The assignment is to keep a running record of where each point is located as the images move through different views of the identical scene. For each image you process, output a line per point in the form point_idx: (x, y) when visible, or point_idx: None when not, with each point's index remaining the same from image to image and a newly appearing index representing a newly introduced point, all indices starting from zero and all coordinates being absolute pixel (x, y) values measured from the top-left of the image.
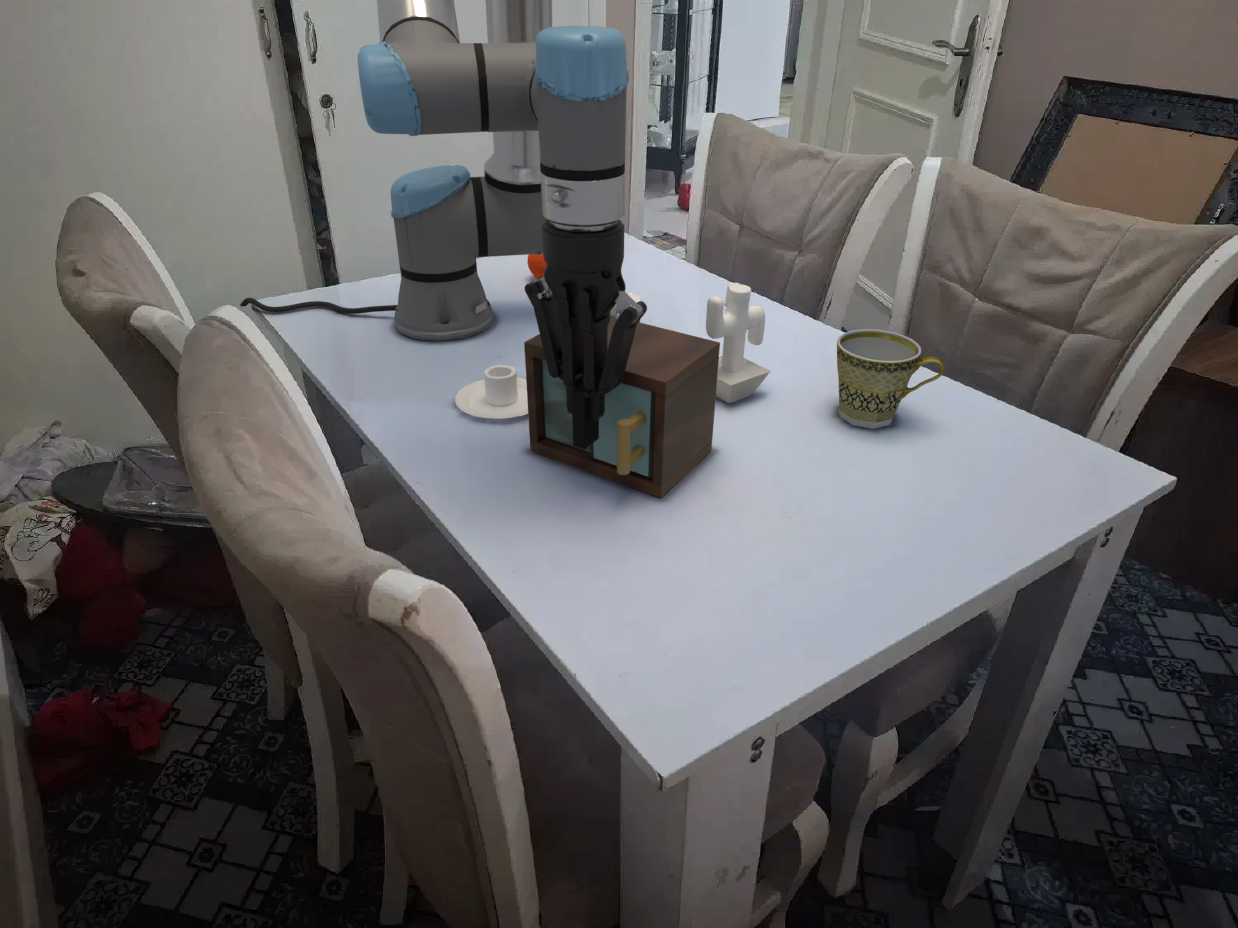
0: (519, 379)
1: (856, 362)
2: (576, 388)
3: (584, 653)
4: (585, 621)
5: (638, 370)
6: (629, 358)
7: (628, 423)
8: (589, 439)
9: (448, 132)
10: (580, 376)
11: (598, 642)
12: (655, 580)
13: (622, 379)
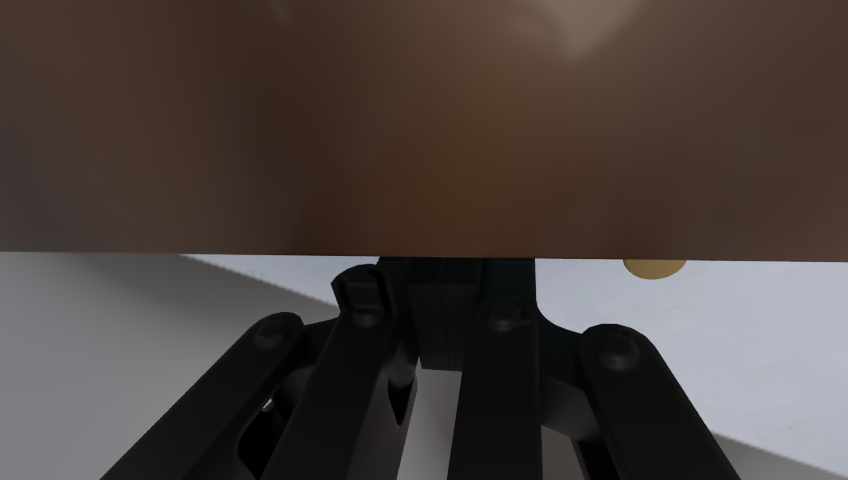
0: None
1: None
2: (422, 351)
3: (721, 417)
4: (695, 382)
5: (723, 204)
6: (512, 40)
7: (681, 261)
8: None
9: None
10: (400, 357)
11: (733, 401)
12: (786, 283)
13: (666, 368)
